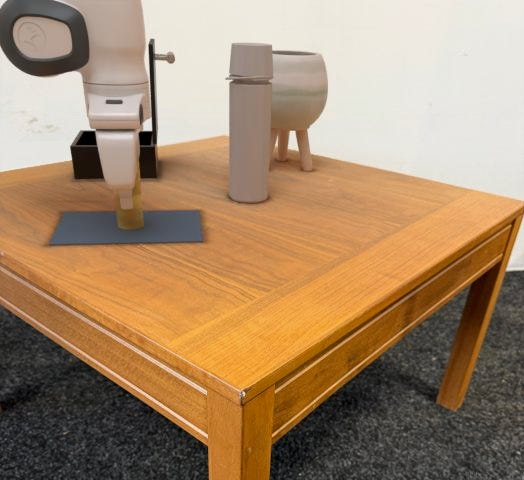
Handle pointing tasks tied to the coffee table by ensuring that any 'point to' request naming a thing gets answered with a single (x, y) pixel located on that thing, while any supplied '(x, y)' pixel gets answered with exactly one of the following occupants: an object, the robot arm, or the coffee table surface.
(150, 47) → the black box lid
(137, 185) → the yellow cylinder
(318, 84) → the planter
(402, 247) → the coffee table surface
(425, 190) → the coffee table surface
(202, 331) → the coffee table surface
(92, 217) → the mat
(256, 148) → the water bottle
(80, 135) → the box
